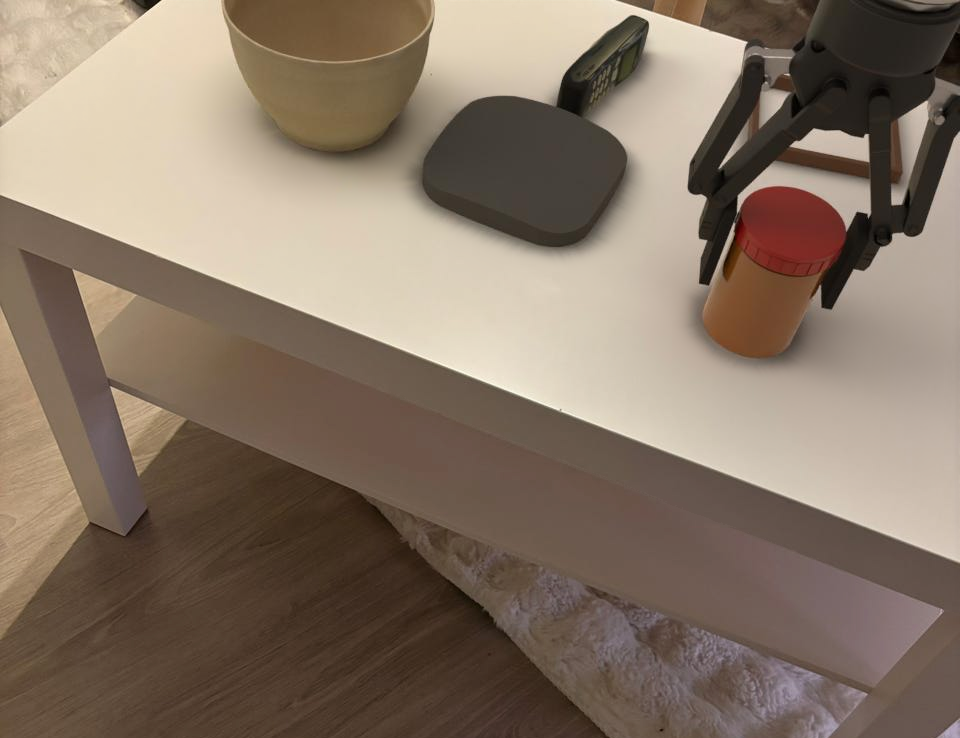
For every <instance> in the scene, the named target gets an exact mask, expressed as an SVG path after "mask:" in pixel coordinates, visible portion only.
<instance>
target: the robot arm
mask: <svg viewBox="0 0 960 738" xmlns="http://www.w3.org/2000/svg"><path fill="white" fill-rule="evenodd" d="M959 26H960V0H819V2H818V4H817V7H816V10H815V12H814V14H813V17H812V20H811V22H810V25H809V27H808V30H807V31H806V32H805V34H804V35H803V36H802V38H800V39H799V40H798V41H797V42H796V43H795V44H794V45H793V46H792V48H790V49H789V48H788V49H787V48H766V44H765V42H764V41H763V40H762V39H761V38H752V39H750V40H748V41H747V43H746V44H745V46H744V50H743V55H742V63H741V68H740V73H739V75H738V78H737V79H736V81H735V82H734V84H733V86H732V88H731V89H730V91H729V93H728V95H727V97H726V99H725V100H724V102H723V104H722V106H721V107H720V109H719V110H718V112H717V114H716V116H715V118H714V119H713V121H712V123H711V125H710V127H709V129H708V130H707V131H706V133H705V136H704V137H703V139H702V140H701V142H700V144H699V146H698V148H697V149H696V151H695V153H694V154H693V156H692V157H691V160H690V162H689V167H688V178H687V186H686V187H687V191H688V192H689V194H691V195H693V196H700V195H702V196H703V197H705V198H706V199H705V203H704V205H703V208H702V211H701V214H700V216H699V221H698V232H697V233H698V239H699V240H703V241H706V243H705V246H704V248H703V250H702V253H701V256H700V261H699V262H700V263H699V277H698V284H699V285H704V286H708V287H709V286H710V284H711V281H712V279H713V277H714V274H715V272H716V269H717V267H718V264H719V261H720V259H721V257H722V254H723V251H724V249H725V246H726V244H727V241H728V238H729V236H730V233H731V231H732V229H733V226H734V224H735V223H734V221H735V218H736V216H737V213H738V205H739V204H738V202H739V196H740V195H741V194H742V192H744V190H746V189H747V188H748V187H749V186H750V185H751V184H752V183H753V182H754V181H755V180H756V179H757V178H758V177H759V176H761V174H762V173H763V172H765V170H766V169H768V167H770V166H771V165H772V164H773V163H774V162H776V159H777V158H778V157H779V156H780V155H781V154H782V153H783V152H784V151H785V150H786V149H787V148H788V147H792V145H793V144H794V143H795V142H801V141H802V140H803V139H804V138H805V137H807V136H808V135H809V134H810V133H811V132H812V131H813V130H819V131H824V132H830V131H836V132H837V131H840V132H842V133H844V134H847V135H848V136H850V137H855V138H861V139H864V138H865V136H866V135H868V137H867V139H868V140H867V141H868V162H869V172H870V179H869V199H870V201H869V203H870V214H869V213H868V212H867V213H866V212H862V211H856V212H855V214H854V217H853V219H852V220H851V222H850V224H849V226H848V228H847V229H846V240H845V243H844V245H843V247H842V249H841V250H842V251H841V253H840V255H839V257H838V259H837V261H836V262H834V263H833V264H832V265H831V266H830V268H829V269H828V271H827V273H826V275H825V277H824V279H823V281H822V283H821V285H820V308H821V309H824V310H828V311H833V308H834V307H835V305H836V303H837V301H838V299H839V297H840V296H841V293H842V292H843V290H844V288H845V287H846V284H847V282H848V280H849V279H850V277H851V275H852V273H853V271H854V270H857V271H861V272H865V271H866V270H867V269H869V268H870V267H871V265H872V263H873V261H874V260H875V258H876V255H877V254H878V253H879V250H880V249H881V248H884V247H887V246H889V245H891V243H892V242H893V235H895V234H904V235H905V236H906V237H908V238H915V237H919V235H921V234H922V233H923V231H924V230H925V229H924V228H925V226H926V222H927V221H928V218H929V217H928V216H929V214H930V211H931V208H932V205H933V201H934V199H935V196H936V193H937V190H938V187H939V185H940V181H941V178H942V176H943V172H944V169H945V166H946V164H947V161H948V158H949V154H950V153H951V149H952V146H953V143H954V140H955V138H956V137H957V135H958V134H959V133H960V78H958V79H955V80H953V82H952V83H951V82H949V81H946V80H945V79H941V78H938V77H936V71H937V67H938V66H939V64H940V63H941V61H942V59H943V57H944V56H945V54H946V51H947V49H948V47H949V46H950V43H951V41H953V38H954V36H955V34H956V32H957V30H958V28H959ZM783 74H784V75H789V76H790V78H791V80H792V83H793V86H794V90H793V91H792V92H790V93H789V94H787V96H786V97H785V99H784V101H783V102H782V104H781V106H780V108H779V109H778V110H777V111H776V112H775V113H774V114H773V115H771V117H770V118H768V120H767V121H765V123H764V124H762V125H761V126H760V127H759V130H758V131H757V132H756V133H755V134H754V135H753V136H752V137H751V138H750V139H749V140H748V139H747V141H745V143H744V144H742V146H741V147H739V149H738V150H737V151H735V153H734V154H733V155H732V156H730V158H729V159H727V161H726V162H724V160H725V159H726V157H727V155H728V153H729V152H730V150H731V149H732V147H733V145H734V144H735V142H736V140H737V139H738V137H739V135H740V134H741V132H742V131H743V129H744V128H745V126H746V124H747V122H748V121H749V117H750V116H751V114H752V112H753V111H754V109H755V107H756V105H757V103H758V100H759V97H760V98H761V94H762V92H768V91H770V89H772V88H771V87H772V86H773V85H774V84H775V82H776V80H777V78H778V77H779V76H781V75H783ZM926 102H927V105H926V110H927V111H926V112H927V118H928V119H927V123H926V126H925V129H924V131H923V135H922V138H921V142H920V144H919V147H918V151H917V154H916V157H915V161H914V164H913V167H912V171H911V174H910V177H909V180H908V184H907V186H906V191H905V193H904V196H903V199H902V203H901V204H892V183H891V123H892V122H894V121H895V120H897V119H898V120H900V118H902V117H904V116H905V115H907V114H908V113H909V112H911V111H913V110H915V109H916V108H918V107H919V106H921V105H923V104H924V103H926ZM723 162H724V163H723ZM722 164H723V165H722Z"/></svg>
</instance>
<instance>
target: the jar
mask: <svg viewBox="0 0 960 738" xmlns="http://www.w3.org/2000/svg"><path fill="white" fill-rule="evenodd" d="M828 269H829V268H827V269H826V270H824V271H822V272H820V273H816V274H813V275H808V276H796V275H794V276H793V275H787V274H783V273H778V272H776V271H773V270H770V269H768V268H765V267H764V266H762V265H760V264H758V263H757V262H755V261H754V260H753V259H751V258H750V257H749V256H748V255H747V254H746V253H745V252H743V250H742V248H741V247H740V245H739V244H738V242H737V239H736V237H735V232H732V235H731V237H730V240H729V242H728V245H727V248H726V249H725V253H724V255H723V257H722V260H721V263H720V265H719V268H718V271H717V273H716V276H715V278H714V281H713V283H712V286H711V288H710V290H709V293H708V295H707V298H706V301H705V304H704V306H703V309H702V314H701V316H702V317H701V318H702V323H703V326H704V328H705V330H706V332H707V333H708V335H709V336H710V337H711V338H712V340H714V342H716V343H717V344H718V345H719V346H720V347H722V348H723V349H724V350H727V351H728V352H731V353H733V354H736V355H738V356H742V357H746V358H752V359H765V358H771V357H774V356H776V355H779V354H781V353H783V352H784V351H785V350H786V349H787V348H788V347H789V346H790V345H791V343H792V341H793V340H794V337H795V335H796V333H797V331H798V329H799V327H800V325H801V323H802V321H803V319H804V317H805V316H806V314H807V312H808V310H809V308H810V306H811V304H812V302H813V300H814V299H815V296H816V295H817V292H818V290H819V288H820V287H821V283H822V281H823V279H824V277H825V275H826V273H827V271H828Z"/></svg>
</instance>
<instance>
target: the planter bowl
mask: <svg viewBox="0 0 960 738" xmlns="http://www.w3.org/2000/svg"><path fill="white" fill-rule="evenodd" d="M221 10H222V11H221V12H222V15H223V18H224V22H225V24H226V27H227V29H228V35H229V40H230V45H231V48H232V52H233V56H234V59H235V62H236V64H237V67H238V69H239V71H240V73H241V76H242V78H243V80H244V82H245V83H246V85H247V87H248V89H249V91H250V92H251V94H252V96H253V97H254V98H255V99H256V101H257V102H258V104H259V105H260V107H262V109H263V110H264V111H265V112H266V113H267V114H268V115H269V117H270V118H271V119H272V120H273V121H275V123H276V125H277V128H279V130H280V131H281V132H282V133H283V134H284V136H286V137H287V138H288V139H290V140H291V141H293V142H295V143H297V144H299V145H300V146H303V147H306V148H309V149H313V150H317V151H321V152H334V153H335V152H349V151H355V150H359V149H362V148H365V147H367V146H370V145H372V144H373V143H375V142H377V141H379V139H381V138H382V137H383V136H384V135H385V133H386V132H387V131H388V129H389V126H390V124H392V122H393V121H394V120H395V119H396V118H397V117H398V116H399V114H400V113H401V112H402V111H403V110H404V108H405V106H406V105H407V104H408V102H409V100H410V99H411V97H412V96H413V94H414V92H415V90H416V88H417V86H418V84H419V81H420V80H421V76H422V74H423V71H424V68H425V66H426V65H425V64H426V61H427V57H428V52H429V46H430V38H431V33H432V30H433V26H434V24H435V23H434V21H435V14H436V6H435V0H221Z"/></svg>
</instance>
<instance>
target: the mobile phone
mask: <svg viewBox="0 0 960 738" xmlns="http://www.w3.org/2000/svg"><path fill="white" fill-rule="evenodd" d="M649 31H650V22H649V21H648V20H647V19H646V18H644V17H641V16H639V15H635V14H630V15H629V16H627V17H626V18H625V19H623V20H622V21H621V22H620V23H618V24H616V25H615V26H614V27H612V28H610V29H608V30H606V31H605V33H603V35H601V36H600V37H599V38H598V39H597V40H596V41H594V42H593V43H592V44H591V46H590V47H589V48H588V49H587V50H586V51H585V52H583V53H582V54H581V55H580V56H579V57H578V58H577V59H576V60H575V61H574V62H573V63H572V64H571V65H570V66H569V68H568V69H567V70H566V71H565V73H564V74H563V76H562V78H561V82H560V86H559V89H558V90H559V91H558V94H557V100H556V104H555V105H556V106H555V107H558V108H560V109H563V110H566V111H568V112H571V113H573V114H576V115H578V116H580V117H582V118H584V119H585V117H586V116H587V115H588V114H589V113H590V112H591V111H592V110H593V109H594V108H595V107H596V106H597V105H598V104H599V103H600V102H601V101H602V100H603V98H604V97H605V96H607V94H609V93H610V92H611V91H612V90H613V89H614V88H615V87H617V86H618V85H620V84H621V83H622V82H623V81H625V80H626V79H628V78H629V77H630V76H631V75H632V74H633V73H634V71H635V70H636V68H637V67H638V64H639V63H640V61H641V59H642V56H643V52H644V50H645V46H646V42H647V38H648V36H649V35H648V34H649Z"/></svg>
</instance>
